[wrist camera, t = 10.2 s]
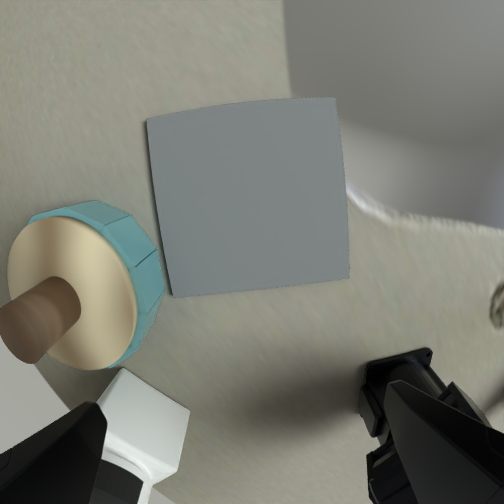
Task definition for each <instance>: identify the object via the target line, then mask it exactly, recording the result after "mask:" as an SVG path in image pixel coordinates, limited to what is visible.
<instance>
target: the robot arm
mask: <svg viewBox="0 0 504 504" xmlns="http://www.w3.org/2000/svg"><path fill="white" fill-rule="evenodd" d="M427 353H428V354H427ZM432 354H433V352H432V350H431V349H430V348H425V349H422V350H418V351H415V352H411V353H407V354H403V355H399V356H395V357H391V358H387V359H383V360H379V361H374V362H371V363H369V364H367V366H366V368H365V377H364V384H363V385H362V387H361V389H360V396H359V403H358V408H359V410H360V412H359V413H360V416H361V417H363V419H364V422H365V424H366V427H367V429H368V432H369V434H370V436H371V437H373V438H374V437H377V438H378V440H379V442H380V445H381V446H380V447H379V448H377V449H376V450H374V451H371V452H370V453H369V454H367V455H366V459H367V475H368V491H369V498H370V500H371V501H372V502H373V504H504V433H502V432H499V431H497V430H495V429H493V428H492V426H491V425H490V423H489V421H488V420H487V418H486V416H485V415H484V414H483V412H482V411H481V410H480V409H479V408H478V406H477V405H476V404H475V403H474V402H473V400H472V399H471V398H470V397H469V396H468V395H467V394H465V393H464V392H463V391H462V390H461V389H460V388H459V387H458V386H457V385H456V384H455V383H454V382H453V381H452V382H451V383H450V384H449V385H448V386H447V387H448V388H447V387H446V386H445V384H444V383H443V382H442V381H441V379H440V378H439V377H438V376H437V374H436V373H435V372H434V371H433V369H432V368H431V367H430V362H431V358H432ZM372 367H373V368H372ZM371 368H372V369H371ZM107 426H108V423H107V419H106V417H105V415H104V414H103V412H102V410H101V408H100V406H99V405H98V404H97V403H95V402H88V401H87V402H84V403H83V404H81V405H79V406H78V407H76V408H75V409H73V410H72V411H70V412H69V413H67V414H66V415H64V416H62V417H61V418H59V419H58V420H56V421H54V422H53V423H51V424H50V425H48V426H46V427H45V428H43V429H42V430H40V431H38V432H37V433H35V434H33V435H32V436H30V437H29V438H27V439H25V440H24V441H22V442H20V443H19V444H17V445H15V446H14V447H13V448H10V449H9V450H7V451H5V452H4V453H2V454H0V504H89V503H90V499H91V495H92V492H93V488H94V484H95V481H96V477H97V474H98V470H99V467H100V463H101V458H102V453H103V447H104V442H105V437H106V432H107Z"/></svg>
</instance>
